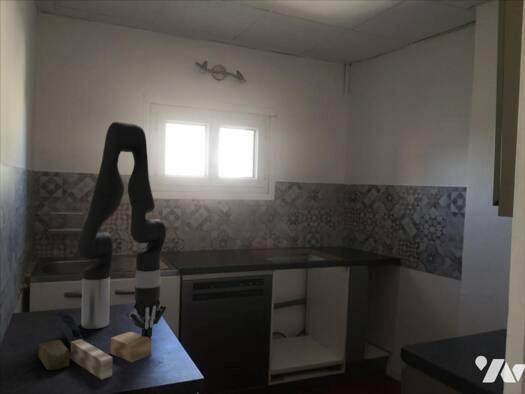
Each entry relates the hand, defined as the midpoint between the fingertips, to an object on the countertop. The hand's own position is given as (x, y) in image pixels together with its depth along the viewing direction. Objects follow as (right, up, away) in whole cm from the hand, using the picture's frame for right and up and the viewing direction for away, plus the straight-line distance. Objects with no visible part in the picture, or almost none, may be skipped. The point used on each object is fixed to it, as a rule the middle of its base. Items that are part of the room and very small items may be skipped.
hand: (146, 339), depth 126 cm
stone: (-25, -3, +2) cm, 25 cm away
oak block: (-4, -3, -4) cm, 6 cm away
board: (-12, -3, -13) cm, 18 cm away
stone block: (-23, -3, -11) cm, 26 cm away
